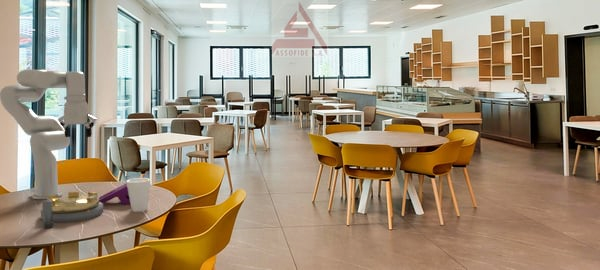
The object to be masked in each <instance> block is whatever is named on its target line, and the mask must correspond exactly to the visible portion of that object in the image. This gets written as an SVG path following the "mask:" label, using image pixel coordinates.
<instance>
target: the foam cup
mask: <svg viewBox="0 0 600 270" xmlns="http://www.w3.org/2000/svg"><path fill="white" fill-rule="evenodd" d="M126 183H127V187H128V193H129V198H130V204H131V205H130V207H131V211H132V212H134V213H137V212H139V213H140V212H145V211H147V210H148V205H149V199H150V195H149V194H150V188H151V179H150V178H147V177H138V178H130V179H127V180H126Z"/></svg>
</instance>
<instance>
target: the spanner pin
mask: <svg viewBox="0 0 600 270" xmlns="http://www.w3.org/2000/svg"><path fill="white" fill-rule="evenodd" d="M45 200H46V201H45ZM45 200H42V201H41V202H42V203H41V208H42V209H41V210H43V220H42V225H43V229H52V228H54V223H53V213H52V201H51V200H47V199H45Z"/></svg>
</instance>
